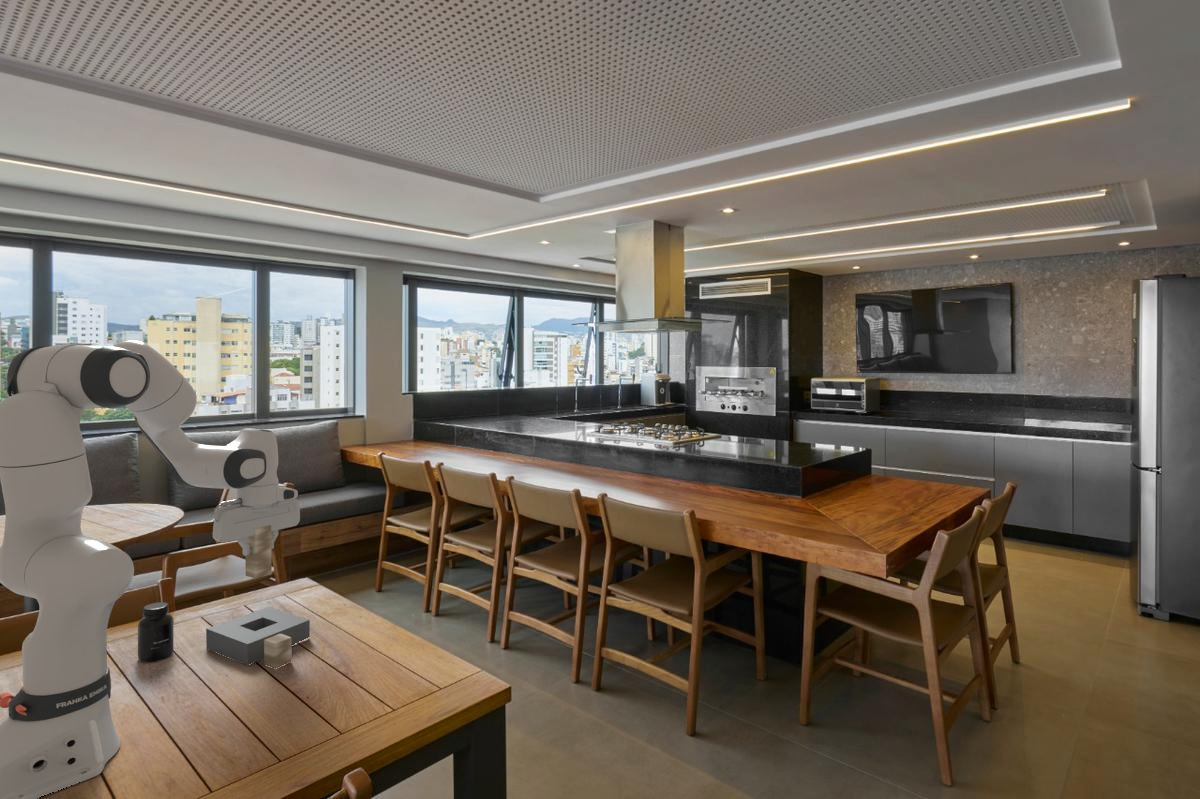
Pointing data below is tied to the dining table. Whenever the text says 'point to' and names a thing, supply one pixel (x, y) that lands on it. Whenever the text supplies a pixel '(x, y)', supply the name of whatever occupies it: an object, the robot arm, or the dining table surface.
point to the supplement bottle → (155, 633)
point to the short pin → (277, 650)
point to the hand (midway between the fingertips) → (258, 551)
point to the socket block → (254, 633)
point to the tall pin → (259, 553)
